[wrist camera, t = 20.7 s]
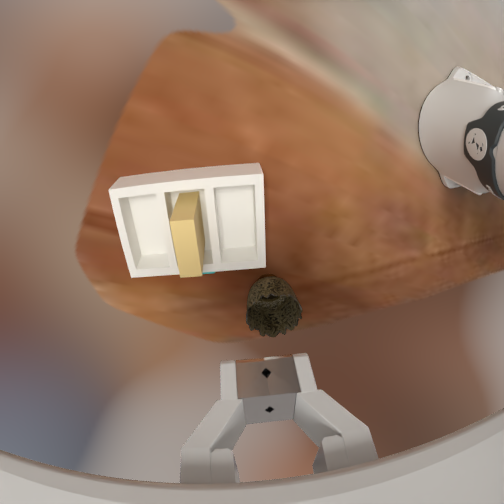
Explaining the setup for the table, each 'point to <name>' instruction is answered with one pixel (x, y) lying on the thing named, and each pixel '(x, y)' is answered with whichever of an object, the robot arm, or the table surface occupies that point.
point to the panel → (188, 234)
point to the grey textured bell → (272, 306)
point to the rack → (213, 214)
